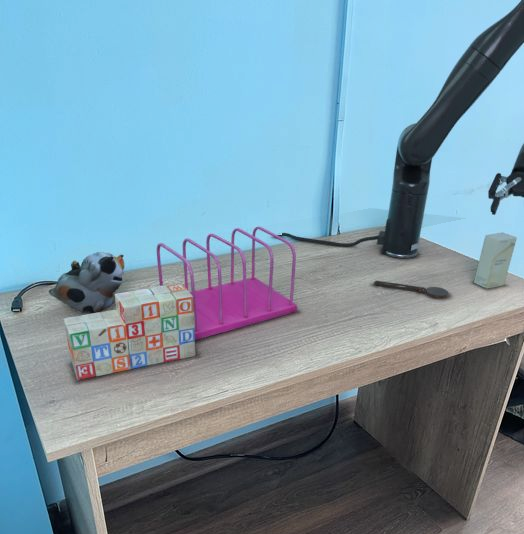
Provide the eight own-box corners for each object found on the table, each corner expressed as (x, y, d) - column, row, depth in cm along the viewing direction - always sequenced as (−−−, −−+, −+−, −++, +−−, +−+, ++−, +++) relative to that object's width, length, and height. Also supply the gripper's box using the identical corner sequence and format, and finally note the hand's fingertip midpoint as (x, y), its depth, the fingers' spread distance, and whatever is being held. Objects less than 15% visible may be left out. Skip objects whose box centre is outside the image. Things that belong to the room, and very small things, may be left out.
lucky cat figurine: (75, 286, 123) (98, 233, 119) (119, 312, 122) (143, 260, 118) (36, 295, 109) (61, 234, 104) (86, 324, 108) (112, 265, 104)
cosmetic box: (486, 289, 127) (499, 240, 121) (472, 282, 130) (484, 235, 124) (505, 285, 130) (518, 237, 123) (490, 278, 133) (503, 231, 127)
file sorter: (157, 307, 115) (151, 237, 107) (254, 283, 127) (255, 219, 119) (193, 341, 103) (189, 265, 94) (297, 312, 114) (301, 242, 106)
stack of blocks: (77, 381, 90) (65, 317, 84) (71, 363, 95) (59, 301, 88) (196, 355, 98) (193, 295, 92) (185, 340, 103) (182, 281, 97)
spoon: (372, 289, 126) (372, 284, 125) (375, 281, 130) (375, 276, 129) (447, 300, 121) (448, 295, 121) (447, 291, 126) (448, 287, 125)
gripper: (503, 146, 131) (481, 202, 128) (567, 153, 124) (544, 213, 122) (502, 165, 137) (481, 219, 135) (563, 172, 131) (541, 229, 128)
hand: (511, 216), depth 128 cm, fingers open, 8 cm apart
